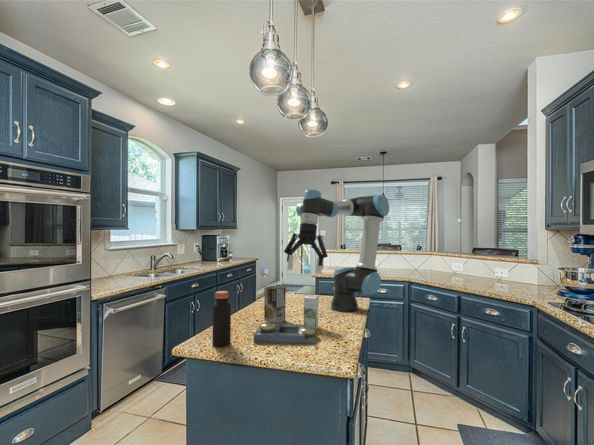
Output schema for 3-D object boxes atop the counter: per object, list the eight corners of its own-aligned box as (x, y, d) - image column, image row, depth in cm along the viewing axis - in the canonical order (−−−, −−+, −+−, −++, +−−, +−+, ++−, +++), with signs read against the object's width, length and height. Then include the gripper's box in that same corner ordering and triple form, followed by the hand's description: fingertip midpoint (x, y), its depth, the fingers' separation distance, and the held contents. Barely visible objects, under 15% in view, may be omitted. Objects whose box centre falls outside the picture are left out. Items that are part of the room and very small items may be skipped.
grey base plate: (315, 331, 136) (315, 323, 136) (315, 344, 121) (315, 335, 121) (274, 331, 137) (274, 322, 137) (268, 343, 122) (268, 334, 122)
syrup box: (318, 327, 143) (318, 295, 143) (316, 331, 137) (316, 297, 138) (306, 326, 144) (306, 294, 145) (303, 330, 138) (303, 297, 139)
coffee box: (286, 320, 153) (286, 287, 154) (276, 323, 148) (276, 289, 149) (273, 317, 159) (273, 285, 160) (263, 319, 155) (263, 286, 155)
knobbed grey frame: (306, 331, 136) (306, 320, 137) (304, 344, 121) (304, 330, 122) (260, 330, 138) (260, 319, 138) (253, 342, 123) (253, 329, 123)
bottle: (211, 342, 123) (211, 291, 123) (228, 340, 125) (229, 289, 126) (213, 348, 117) (214, 294, 117) (232, 346, 119) (232, 292, 120)
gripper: (280, 221, 144) (274, 267, 141) (332, 223, 132) (326, 274, 129) (288, 224, 150) (282, 268, 147) (337, 226, 139) (332, 275, 136)
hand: (303, 271), depth 138 cm, fingers open, 13 cm apart
